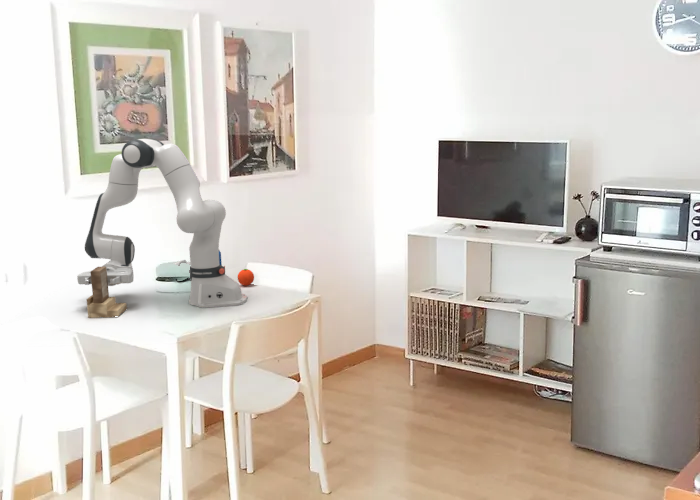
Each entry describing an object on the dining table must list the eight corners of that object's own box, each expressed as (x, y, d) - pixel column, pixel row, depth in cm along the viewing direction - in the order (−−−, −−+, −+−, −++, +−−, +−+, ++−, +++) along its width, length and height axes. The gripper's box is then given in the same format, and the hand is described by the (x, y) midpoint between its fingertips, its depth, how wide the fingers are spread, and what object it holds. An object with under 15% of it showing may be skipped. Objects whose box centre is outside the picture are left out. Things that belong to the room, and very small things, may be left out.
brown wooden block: (109, 297, 299) (106, 266, 297) (102, 303, 292) (99, 271, 289) (100, 297, 300) (97, 266, 297) (93, 303, 292) (90, 271, 289)
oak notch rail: (126, 309, 302) (125, 291, 300) (118, 317, 291) (116, 298, 290) (98, 309, 302) (96, 291, 301) (88, 317, 291) (86, 299, 290)
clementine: (238, 283, 338) (237, 267, 337) (254, 282, 339) (253, 266, 338) (237, 287, 330) (236, 271, 329) (254, 287, 331) (253, 270, 330)
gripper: (83, 266, 307) (70, 274, 293) (136, 265, 307) (125, 273, 293) (84, 282, 308) (72, 291, 295) (137, 281, 308) (127, 290, 294)
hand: (99, 282), depth 294 cm, fingers open, 8 cm apart
